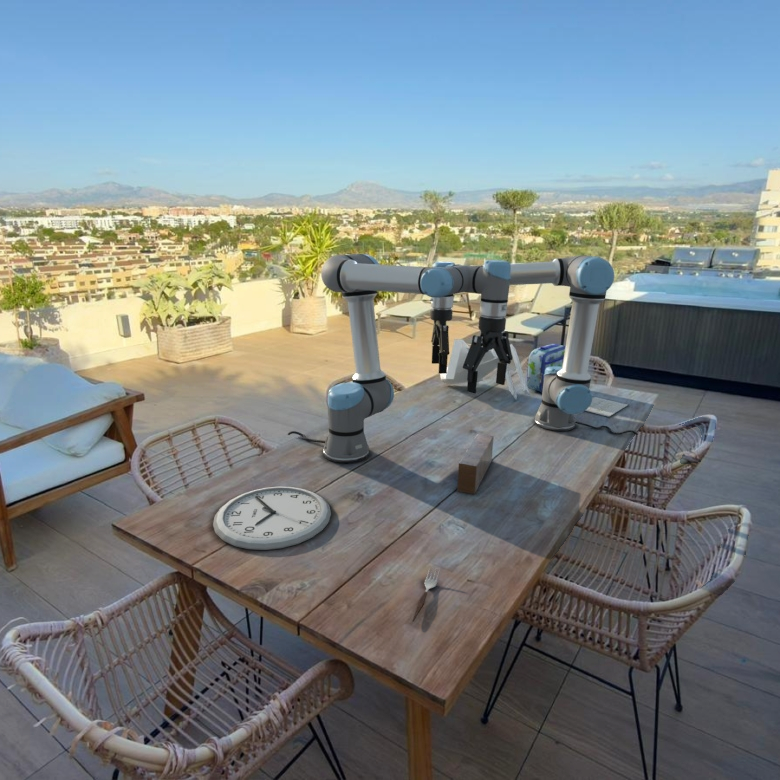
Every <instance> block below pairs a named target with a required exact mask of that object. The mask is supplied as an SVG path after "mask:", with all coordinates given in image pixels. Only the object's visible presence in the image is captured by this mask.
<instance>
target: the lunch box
mask: <svg viewBox="0 0 780 780" xmlns="http://www.w3.org/2000/svg"><path fill="white" fill-rule="evenodd" d="M565 347H566V345H561V344H556V343H551V344H547V345H543V346H540V347H537V348H534V349H533V350H532V351H531V352H530V353H529V356H528V361H527V362H528V363H527V371H526V384H527V387H528V390H531V391H537V392H540V393H541V394H542V392H543V382H544V374H545V369H546V368H547V367H562V366H563V360H564V353H565Z"/></svg>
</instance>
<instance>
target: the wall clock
mask: <svg viewBox="0 0 780 780" xmlns="http://www.w3.org/2000/svg"><path fill="white" fill-rule="evenodd" d="M331 516H332V512H331V507H330V504H329V503H328V502H327V500H326V499H325V498H323V497H322V496H320V495H319V494H317V493H316V492H313V491H310V490H308V489H305V488H300V487H293V486H271V487H263V488H259V489H253V490H251V491H247V492H244V493H242V494H239V495H238V496H235V497H234V498H232V499H230V500H228V501H227V502H226V503H225V504H223V505H222V506H221V507H220V508H219V510H218V511H217V512H216V514H215V515H214V518H213V522H212V527H213V529H214V533H215V535H217V536H218V537H219V538H220V539H221V541H222V542H225V543H227V544H229V545H231V546H233V547H237V548H242V549H246V550H258V551H259V550H260V551H267V550H276V549H284V548H288V547H291V546H295V545H299V544H301V543H303V542H305V541H308V540H310V539H312V538H314V537H316V536H317V535H318V534H319V533H321V532H322V531H323V530H324V529H325V527H326V526H327V525H328V524H329V522H330V520H331Z"/></svg>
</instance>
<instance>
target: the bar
mask: <svg viewBox="0 0 780 780" xmlns="http://www.w3.org/2000/svg"><path fill="white" fill-rule="evenodd" d="M493 448H494V435H490V434H483V433H477V434H476V436H475V438H474V439H473V440H472V442H471V444H470V445H469V447H468V448H467V450H466V451H465V453H464V454H463V456H462V458H461V459H460V461H459V462H458V469H457V470H458V472H457V488H456V491H457V492H460V493H465V494H471V495H476V492H477V491H478V488H479V486H480V484H481V483H482V480H483V479H484V476H485V475H486V473H487V471H488V469H489V467H490V464H491V462H492V460H493Z"/></svg>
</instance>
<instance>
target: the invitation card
mask: <svg viewBox="0 0 780 780" xmlns="http://www.w3.org/2000/svg"><path fill="white" fill-rule="evenodd" d="M628 406H629V404H627V403H623V402H618V401H614V400H609V399H605V398H601V397H596V396H593V397H592V402H591V405H590V406H589V407H588V409H586V410H585V411H584V412H587V413H593V414H596V415H600V416H604V417H608V418H609V417H611V416H613V415H614V414H616V413H617V412H619V411H621V410H623V409H624V408H626V407H628Z"/></svg>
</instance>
